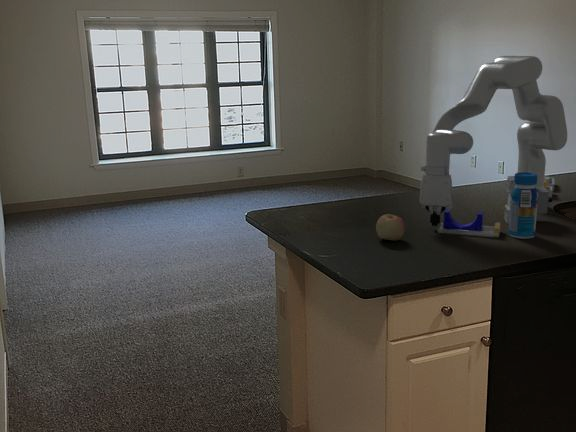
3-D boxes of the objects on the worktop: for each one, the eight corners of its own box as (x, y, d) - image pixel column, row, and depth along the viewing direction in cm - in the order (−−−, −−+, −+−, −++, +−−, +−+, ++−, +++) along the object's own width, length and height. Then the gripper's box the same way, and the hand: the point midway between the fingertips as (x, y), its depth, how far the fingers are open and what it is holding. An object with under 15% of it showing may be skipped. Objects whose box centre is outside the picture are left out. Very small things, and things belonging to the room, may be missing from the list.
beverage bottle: (502, 235, 204) (506, 173, 198) (517, 230, 208) (521, 170, 203) (525, 241, 197) (530, 177, 192) (541, 235, 202) (546, 174, 197)
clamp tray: (508, 191, 264) (508, 184, 263) (551, 193, 258) (552, 186, 257) (507, 195, 256) (507, 188, 256) (551, 198, 250) (552, 190, 250)
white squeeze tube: (440, 227, 214) (441, 218, 214) (500, 231, 208) (500, 222, 207) (437, 233, 208) (437, 224, 207) (498, 237, 201) (499, 228, 200)
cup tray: (517, 182, 280) (518, 175, 279) (553, 184, 275) (554, 177, 274) (516, 189, 267) (516, 182, 266) (554, 191, 262) (554, 184, 261)
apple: (382, 235, 207) (382, 211, 205) (408, 238, 203) (408, 214, 201) (371, 242, 200) (372, 217, 198) (398, 245, 195) (399, 220, 193)
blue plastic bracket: (442, 230, 209) (443, 213, 207) (444, 227, 213) (445, 209, 211) (480, 233, 205) (481, 215, 203) (482, 230, 209) (483, 212, 207)
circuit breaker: (551, 224, 215) (554, 180, 211) (506, 223, 217) (509, 180, 214) (547, 218, 222) (550, 176, 218) (504, 217, 224) (507, 175, 221)
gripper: (412, 171, 206) (410, 226, 210) (459, 174, 200) (456, 230, 205) (416, 167, 213) (414, 220, 217) (462, 170, 207) (459, 224, 212)
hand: (434, 225), depth 211 cm, fingers closed
